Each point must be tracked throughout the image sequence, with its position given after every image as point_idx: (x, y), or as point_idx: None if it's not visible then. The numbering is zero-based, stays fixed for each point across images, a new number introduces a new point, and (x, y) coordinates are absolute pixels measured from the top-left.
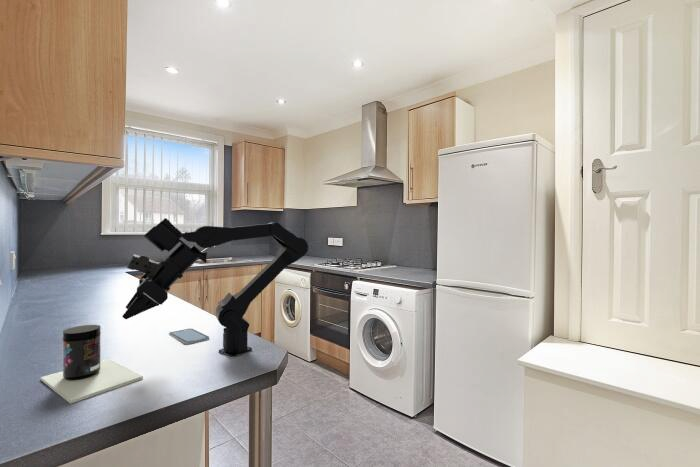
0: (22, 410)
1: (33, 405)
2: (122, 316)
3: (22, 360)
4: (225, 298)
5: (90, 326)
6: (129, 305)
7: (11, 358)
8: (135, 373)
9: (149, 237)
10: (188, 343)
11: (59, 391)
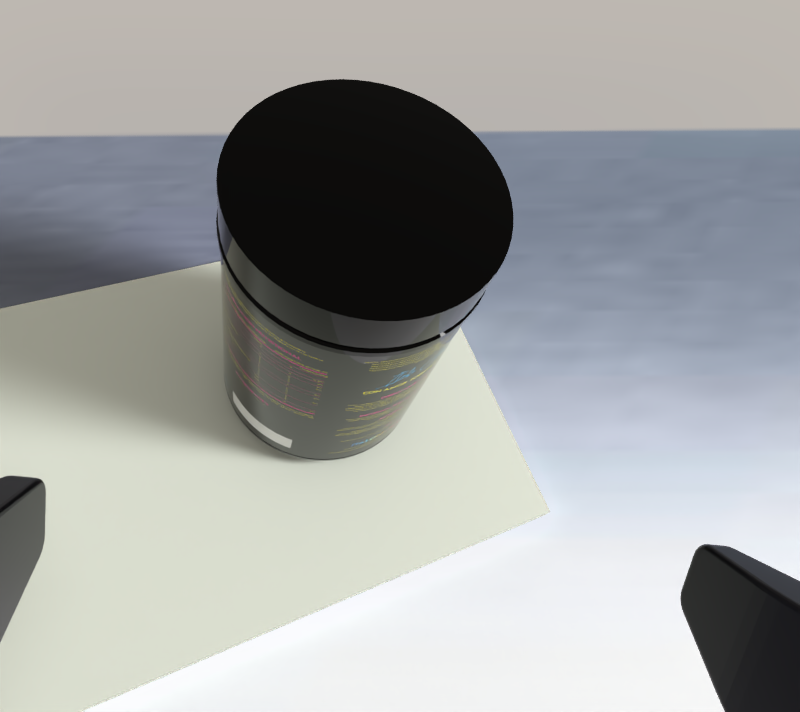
0: (30, 179)
1: (59, 210)
2: (14, 477)
3: (729, 173)
4: None
5: (435, 249)
6: (728, 600)
7: (771, 144)
8: (93, 691)
9: None
10: None
11: (118, 286)
